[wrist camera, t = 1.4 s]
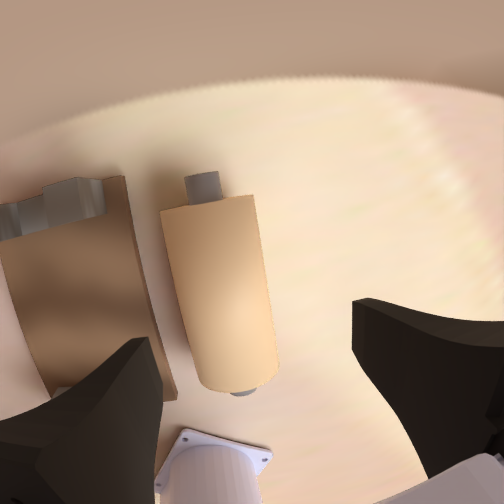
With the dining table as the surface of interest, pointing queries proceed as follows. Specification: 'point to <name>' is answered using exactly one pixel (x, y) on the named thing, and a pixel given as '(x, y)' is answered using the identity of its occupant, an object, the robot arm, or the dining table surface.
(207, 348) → the paper roll
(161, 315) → the dining table surface
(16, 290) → the roll holder
